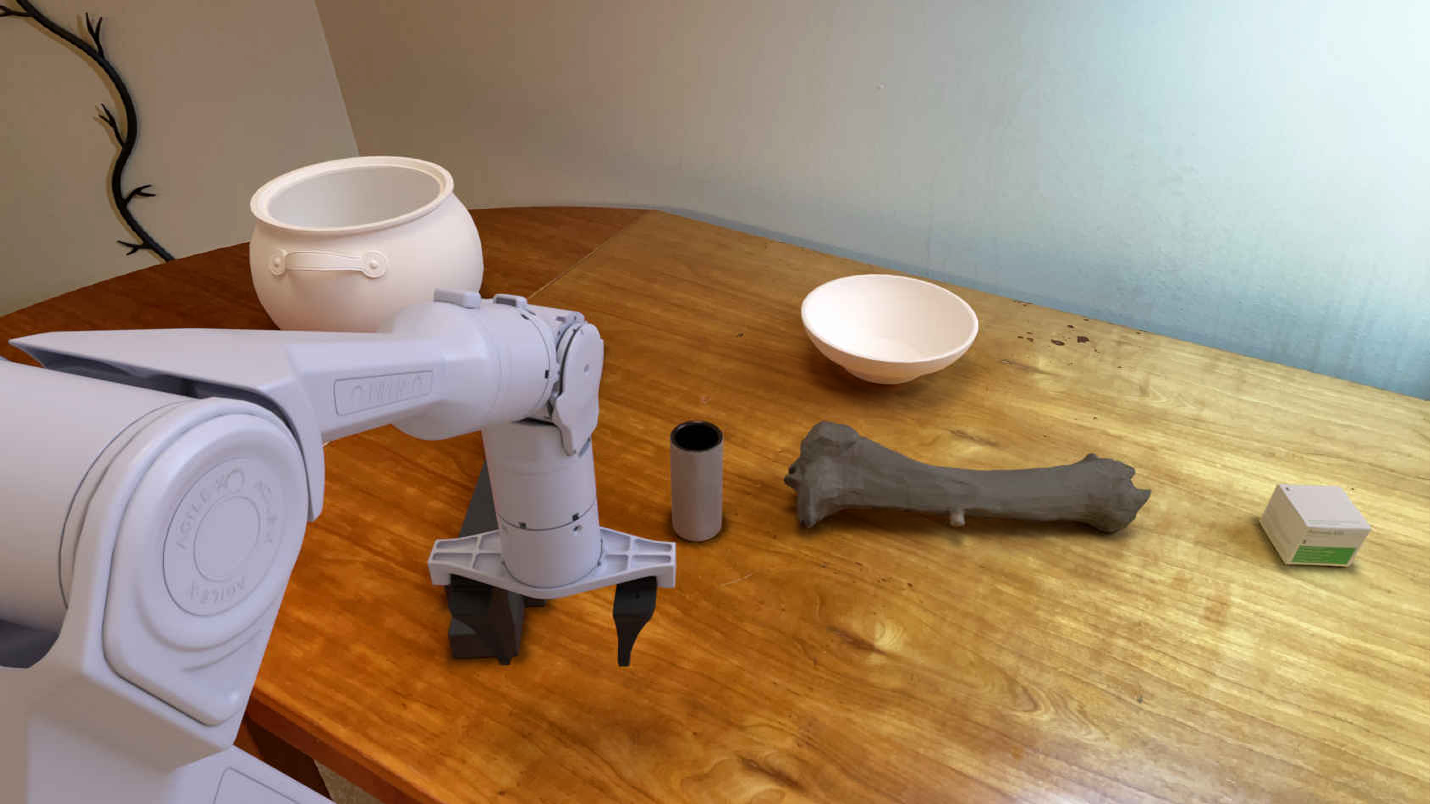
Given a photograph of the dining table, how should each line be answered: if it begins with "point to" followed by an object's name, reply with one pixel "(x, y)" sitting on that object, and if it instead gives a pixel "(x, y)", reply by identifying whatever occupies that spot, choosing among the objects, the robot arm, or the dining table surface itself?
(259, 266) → the pot
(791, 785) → the dining table surface
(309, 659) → the dining table surface
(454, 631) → the pad
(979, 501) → the bone
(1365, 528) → the small box
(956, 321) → the bowl
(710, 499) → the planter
